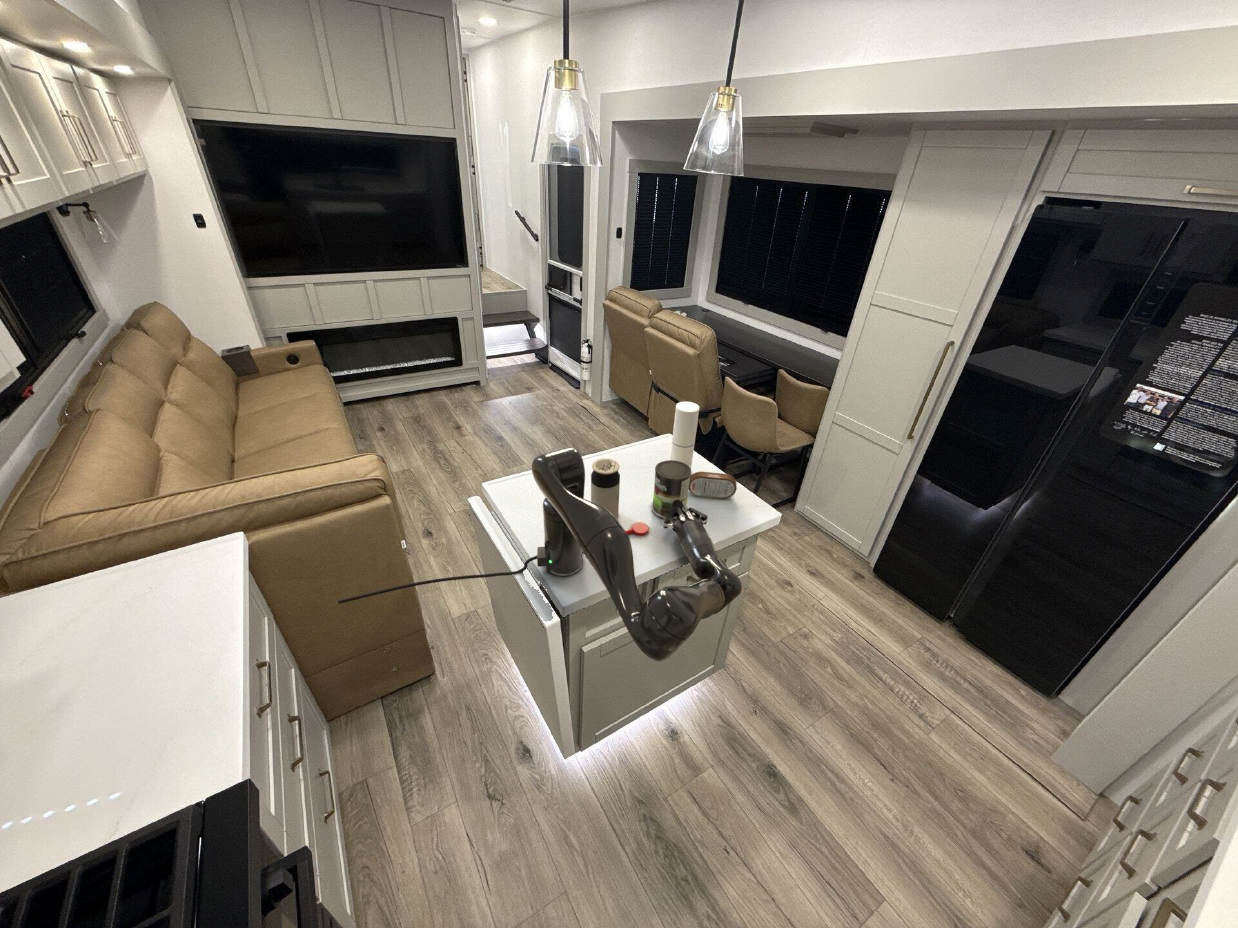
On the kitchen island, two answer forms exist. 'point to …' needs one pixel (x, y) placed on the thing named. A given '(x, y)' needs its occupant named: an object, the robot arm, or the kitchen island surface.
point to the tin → (712, 485)
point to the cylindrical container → (684, 432)
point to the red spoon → (638, 529)
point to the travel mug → (606, 485)
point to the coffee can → (670, 486)
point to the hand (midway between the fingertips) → (676, 502)
